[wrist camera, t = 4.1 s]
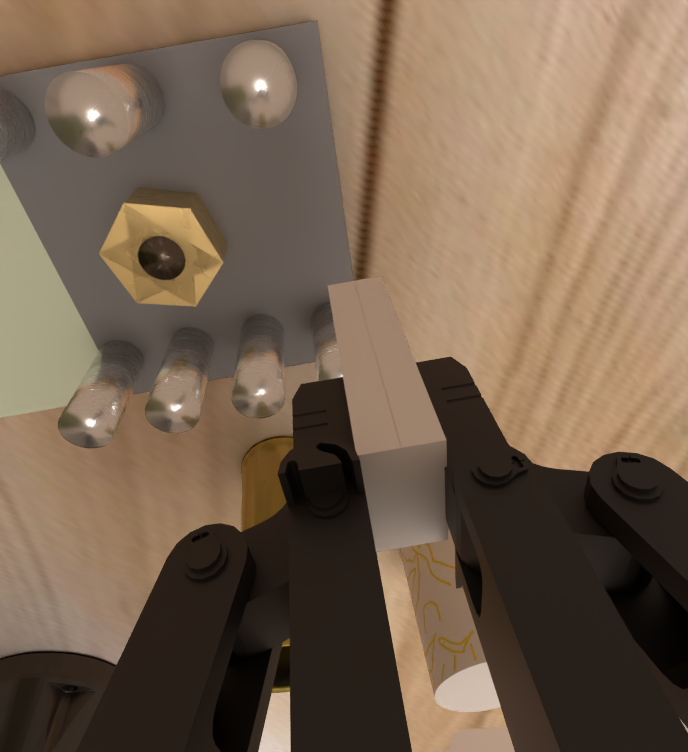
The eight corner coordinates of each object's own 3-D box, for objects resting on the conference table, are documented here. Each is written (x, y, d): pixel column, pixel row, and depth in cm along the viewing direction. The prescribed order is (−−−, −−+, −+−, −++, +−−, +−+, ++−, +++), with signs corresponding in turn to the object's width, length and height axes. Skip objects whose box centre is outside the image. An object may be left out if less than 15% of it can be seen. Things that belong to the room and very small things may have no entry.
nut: (164, 302, 25) (154, 326, 23) (95, 209, 22) (76, 227, 20) (241, 266, 25) (238, 287, 22) (181, 165, 22) (170, 179, 19)
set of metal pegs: (109, 379, 28) (73, 452, 23) (-43, 92, 19) (-153, 110, 14) (355, 335, 28) (372, 398, 23) (311, 31, 19) (321, 27, 14)
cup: (420, 506, 40) (465, 655, 31) (504, 517, 42) (570, 660, 33) (387, 564, 44) (416, 711, 35) (464, 571, 47) (512, 712, 37)
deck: (12, 398, 30) (-4, 418, 28) (-190, 109, 21) (-230, 115, 19) (359, 336, 30) (363, 352, 28) (314, 21, 21) (317, 20, 19)
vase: (230, 483, 36) (207, 692, 25) (258, 426, 33) (246, 632, 22) (305, 500, 38) (316, 701, 27) (337, 447, 35) (364, 647, 24)
